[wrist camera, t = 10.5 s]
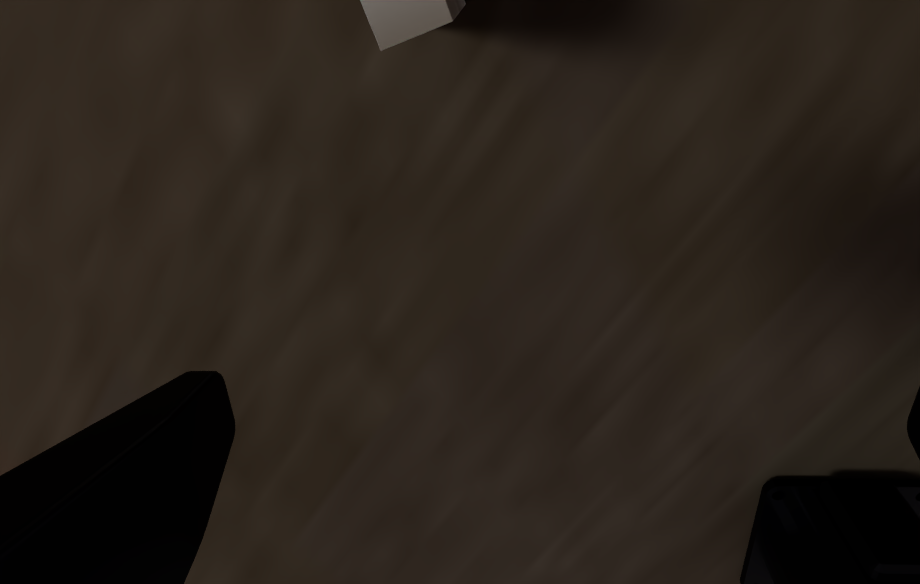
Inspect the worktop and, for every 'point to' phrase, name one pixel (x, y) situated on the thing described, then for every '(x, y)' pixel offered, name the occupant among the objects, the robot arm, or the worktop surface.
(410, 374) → the worktop surface
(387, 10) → the stepped pillar cluster
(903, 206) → the worktop surface
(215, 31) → the worktop surface
